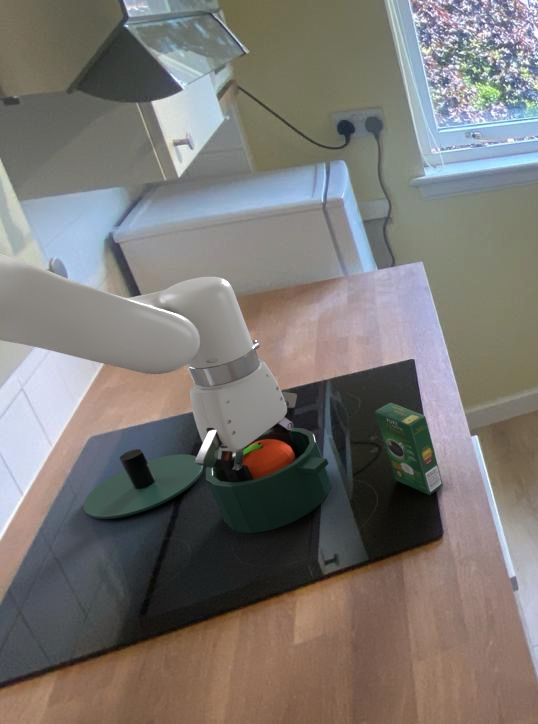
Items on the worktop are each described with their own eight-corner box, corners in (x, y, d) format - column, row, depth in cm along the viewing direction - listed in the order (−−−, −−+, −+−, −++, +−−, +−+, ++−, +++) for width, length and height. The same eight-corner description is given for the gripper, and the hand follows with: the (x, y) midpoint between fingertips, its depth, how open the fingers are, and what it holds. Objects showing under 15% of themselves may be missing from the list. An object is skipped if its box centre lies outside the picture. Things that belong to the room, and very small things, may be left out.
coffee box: (446, 485, 112) (426, 413, 106) (430, 497, 109) (408, 424, 104) (411, 470, 115) (390, 400, 110) (395, 481, 113) (372, 410, 107)
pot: (302, 538, 102) (283, 490, 99) (186, 527, 105) (164, 480, 101) (366, 476, 114) (351, 431, 111) (260, 467, 117) (243, 424, 113)
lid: (143, 526, 105) (125, 489, 103) (60, 518, 107) (39, 482, 105) (227, 462, 118) (212, 429, 115) (151, 456, 120) (135, 423, 117)
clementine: (246, 509, 103) (229, 468, 100) (230, 489, 107) (213, 449, 104) (309, 479, 108) (295, 439, 106) (291, 461, 112) (276, 423, 110)
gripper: (253, 334, 108) (290, 433, 115) (140, 400, 92) (191, 509, 100) (298, 336, 107) (333, 436, 114) (192, 403, 91) (240, 514, 99)
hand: (266, 469), depth 107 cm, fingers closed on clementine, 7 cm apart
